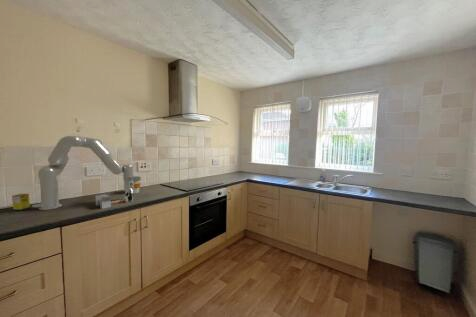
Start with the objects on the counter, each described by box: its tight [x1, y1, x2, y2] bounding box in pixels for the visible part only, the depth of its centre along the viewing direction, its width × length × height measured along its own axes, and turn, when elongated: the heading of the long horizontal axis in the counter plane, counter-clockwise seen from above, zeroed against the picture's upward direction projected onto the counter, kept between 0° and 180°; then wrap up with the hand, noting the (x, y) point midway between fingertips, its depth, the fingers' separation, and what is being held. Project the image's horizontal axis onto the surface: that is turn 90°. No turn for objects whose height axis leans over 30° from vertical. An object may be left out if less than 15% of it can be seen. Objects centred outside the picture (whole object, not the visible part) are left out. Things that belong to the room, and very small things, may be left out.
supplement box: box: [11, 193, 30, 211], centre depth 143 cm, size 6×6×11 cm
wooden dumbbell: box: [111, 195, 134, 205], centre depth 163 cm, size 22×4×4 cm, turn 142°
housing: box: [95, 193, 112, 209], centre depth 154 cm, size 6×14×8 cm, turn 52°
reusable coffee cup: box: [133, 176, 142, 194], centre depth 197 cm, size 13×13×15 cm
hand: (128, 199), depth 169 cm, fingers closed on wooden dumbbell, 4 cm apart
